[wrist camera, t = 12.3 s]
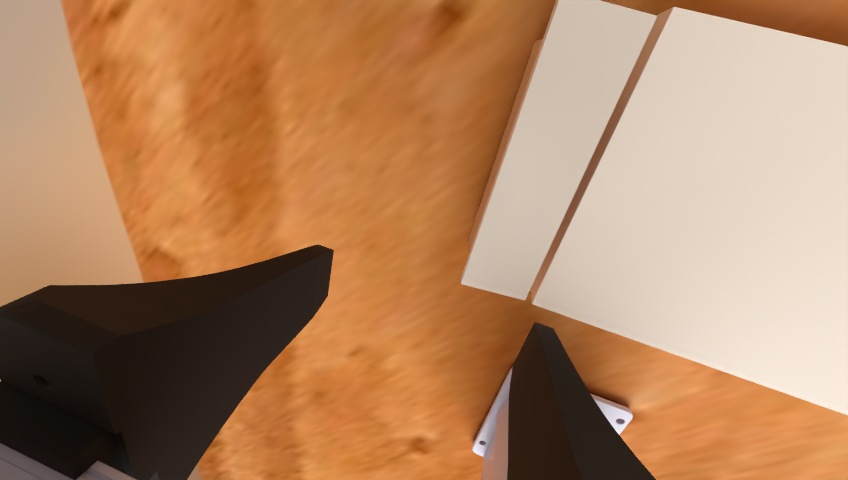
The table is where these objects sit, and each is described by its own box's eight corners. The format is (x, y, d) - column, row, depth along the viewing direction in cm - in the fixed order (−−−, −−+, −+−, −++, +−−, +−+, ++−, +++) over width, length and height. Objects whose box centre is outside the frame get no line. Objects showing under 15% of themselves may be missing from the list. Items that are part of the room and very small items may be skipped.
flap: (657, 16, 13) (629, 22, 15) (562, -10, 12) (548, 0, 15) (525, 300, 18) (518, 276, 21) (460, 284, 18) (461, 261, 21)
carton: (947, 428, 18) (992, 466, 16) (531, 285, 21) (531, 304, 19) (1336, 169, 12) (1478, 185, 10) (657, 12, 15) (675, 3, 13)
